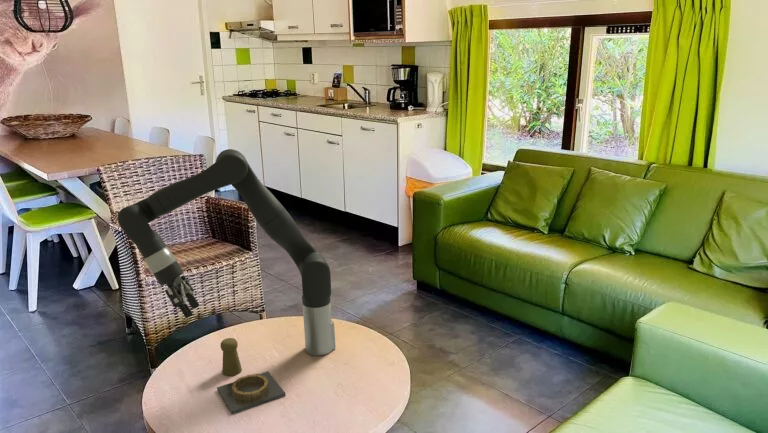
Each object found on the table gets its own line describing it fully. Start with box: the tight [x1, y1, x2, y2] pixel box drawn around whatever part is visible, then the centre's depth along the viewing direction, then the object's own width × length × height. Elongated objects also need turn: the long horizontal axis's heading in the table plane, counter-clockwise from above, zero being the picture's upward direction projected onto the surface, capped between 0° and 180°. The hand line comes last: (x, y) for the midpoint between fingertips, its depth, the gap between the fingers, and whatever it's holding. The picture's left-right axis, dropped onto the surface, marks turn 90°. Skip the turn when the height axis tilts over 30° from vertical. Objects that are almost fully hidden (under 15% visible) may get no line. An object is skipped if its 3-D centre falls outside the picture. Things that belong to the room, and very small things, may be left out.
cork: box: [220, 337, 243, 377], centre depth 181 cm, size 6×6×11 cm
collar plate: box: [216, 371, 286, 415], centre depth 170 cm, size 16×14×3 cm
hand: (193, 311), depth 172 cm, fingers open, 8 cm apart
